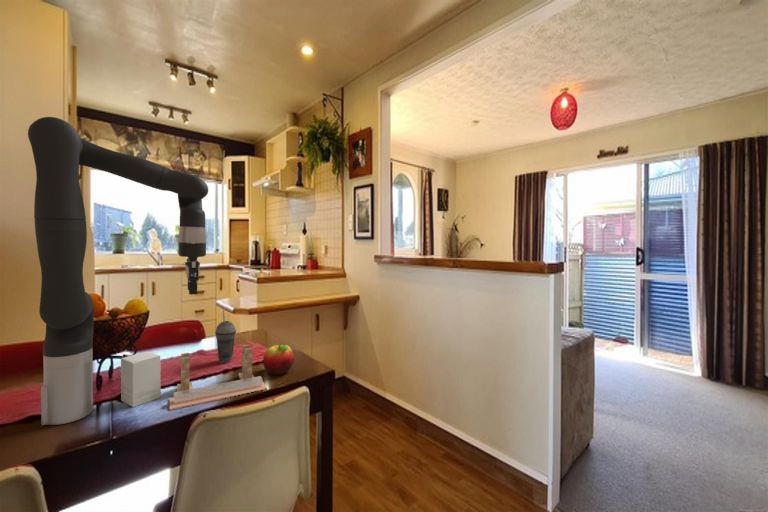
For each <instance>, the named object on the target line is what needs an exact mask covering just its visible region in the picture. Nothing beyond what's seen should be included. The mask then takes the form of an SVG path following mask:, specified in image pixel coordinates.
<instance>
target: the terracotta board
mask: <svg viewBox="0 0 768 512" xmlns="http://www.w3.org/2000/svg"><path fill="white" fill-rule="evenodd" d="M265 389H267V390H268V387H267V385H266V384H265V382H264V381H263V380H262V386H260V387H255V388H250V389H245V390H240V391H236V392H231V393H226V394H221V395H216V396H211V397H207V398H202V399H197V400H192V401H187V402H182V403H178V404H174V396H173V397H169V411H174V410H173V409H175V410H178V409H177V408H180V409H183V408H182V407H184V408H188V407H187V406H189V407H193V406H192V405H194V406H197V405H202V404H208V403H211V402H216V401H221V400H225V398H226V399H229V398H230V397H231V398H235V397H234V396H236V397H239V396H238V395H240V396H243V395H242V394H245V395H247V394H246V393H249V394H252V393H251V392H254V391H259V392H261V391H260V390H263V391H266V390H265ZM254 393H255V392H254Z"/></svg>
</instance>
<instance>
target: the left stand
mask: <svg viewBox="0 0 768 512" xmlns="http://www.w3.org/2000/svg"><path fill="white" fill-rule="evenodd" d="M180 354H181V355H180V383H177V385H176V386H177V387H176V390H177V391H176V392H179V391H184V390H190V389H194V386H193V382H192V381H191V382H190V356H189V355H190V354H189V352H184V353H180Z"/></svg>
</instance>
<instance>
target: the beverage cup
mask: <svg viewBox="0 0 768 512" xmlns="http://www.w3.org/2000/svg"><path fill="white" fill-rule="evenodd" d="M222 318H223V321H222V322H220V323H218V325H217V326H216V328H215V332H214V333H215V337H216V346H217V347H216V348H217V355H218V356H217V357H218V362H220V363H219V364H222V363H225V364H229V363H228V362H230V361H231V362H233V356H234V355H233V354H234V348H235V347H234V346H235V337H236V332H237V330H236V329H237V328H236V326H235V323H233V322H231V321H229V320H226V318H225V309H222ZM231 362H230V363H231Z"/></svg>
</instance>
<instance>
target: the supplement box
mask: <svg viewBox="0 0 768 512" xmlns="http://www.w3.org/2000/svg"><path fill="white" fill-rule="evenodd" d="M161 384H162V383H161V355H160V354H157V353H154V352H151V351H144V352H140V353H136V354H132V355H128V356H124V357H121V358H120V393H121V394H120V396H121V398H120V400H121V401H122V402H123V403H125V404H127V405H129V406H130V407H132V408H134V407H138V406H141V405H142V404H146V403H149V402H152V401H154V400H157V399H159V398H161V395H162V394H161V391H162V390H161Z"/></svg>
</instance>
